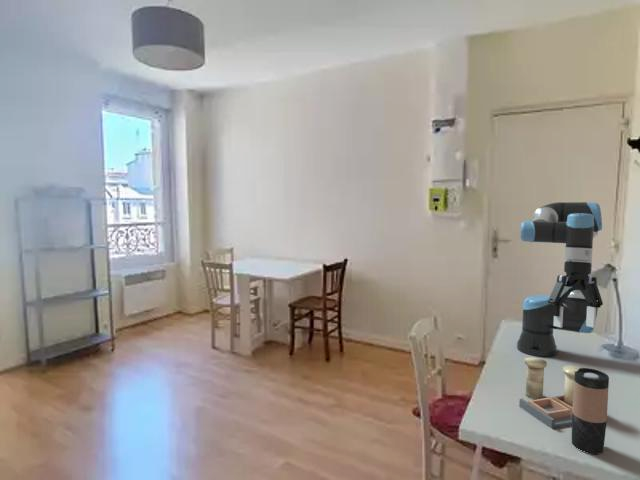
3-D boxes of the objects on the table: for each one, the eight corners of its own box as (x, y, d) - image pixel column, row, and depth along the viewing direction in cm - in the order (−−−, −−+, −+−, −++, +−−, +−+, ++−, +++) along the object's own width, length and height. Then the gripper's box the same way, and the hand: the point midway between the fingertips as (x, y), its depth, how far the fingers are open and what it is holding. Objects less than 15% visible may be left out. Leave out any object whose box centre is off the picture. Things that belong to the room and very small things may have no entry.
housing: (519, 406, 132) (520, 366, 131) (568, 398, 137) (571, 360, 135) (551, 428, 120) (553, 384, 118) (604, 419, 124) (607, 376, 123)
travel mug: (610, 456, 107) (615, 381, 104) (577, 453, 108) (582, 379, 106) (596, 439, 114) (600, 368, 112) (565, 436, 115) (569, 366, 113)
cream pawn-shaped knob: (519, 392, 141) (520, 358, 140) (535, 390, 143) (536, 356, 141) (533, 401, 135) (534, 365, 134) (549, 399, 136) (551, 363, 135)
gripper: (557, 260, 129) (553, 329, 129) (618, 263, 136) (614, 329, 136) (537, 258, 136) (534, 324, 136) (596, 262, 143) (593, 324, 143)
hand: (574, 326), depth 136 cm, fingers open, 13 cm apart
